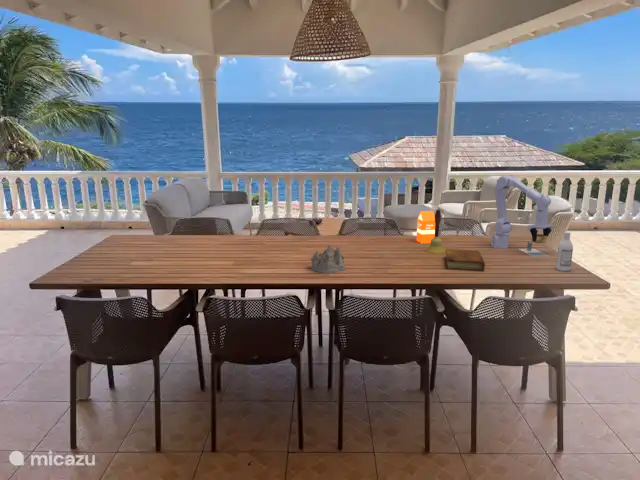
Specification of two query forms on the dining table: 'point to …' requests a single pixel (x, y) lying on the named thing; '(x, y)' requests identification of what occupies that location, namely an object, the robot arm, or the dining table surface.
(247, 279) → the dining table surface
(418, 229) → the orange juice
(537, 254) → the board
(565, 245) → the bath foam
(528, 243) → the post
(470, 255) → the diary
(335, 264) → the grey sandcastle
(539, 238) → the collar
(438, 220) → the handbell
